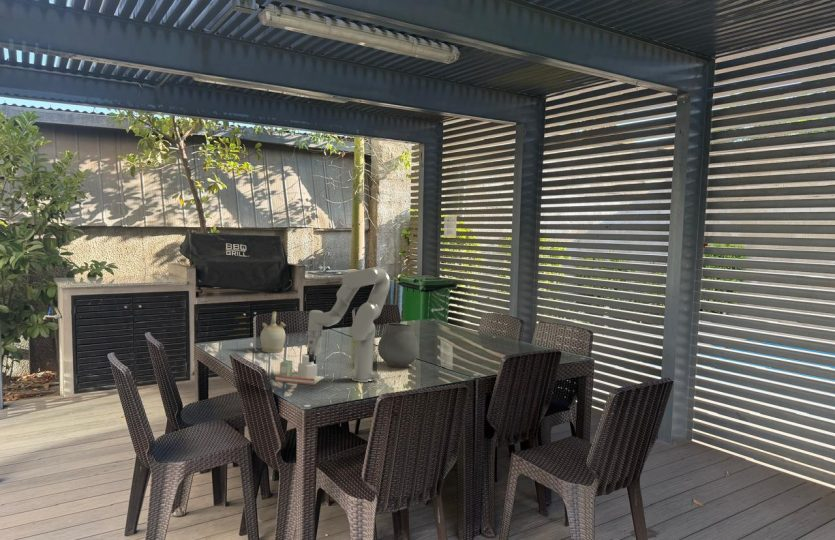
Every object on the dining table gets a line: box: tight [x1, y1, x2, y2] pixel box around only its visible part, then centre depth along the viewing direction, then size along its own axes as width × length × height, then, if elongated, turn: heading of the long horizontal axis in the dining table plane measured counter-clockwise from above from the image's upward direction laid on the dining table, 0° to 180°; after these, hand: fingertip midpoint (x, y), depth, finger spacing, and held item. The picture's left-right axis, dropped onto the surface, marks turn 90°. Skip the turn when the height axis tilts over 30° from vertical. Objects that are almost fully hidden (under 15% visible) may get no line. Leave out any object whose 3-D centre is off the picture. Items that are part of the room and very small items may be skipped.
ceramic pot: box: [377, 322, 420, 368], centre depth 337 cm, size 24×24×25 cm
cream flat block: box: [275, 373, 325, 386], centre depth 296 cm, size 20×17×3 cm
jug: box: [259, 311, 287, 354], centre depth 359 cm, size 15×16×25 cm
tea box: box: [279, 359, 293, 377], centre depth 294 cm, size 4×6×9 cm, turn 170°
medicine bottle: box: [297, 353, 318, 379], centre depth 299 cm, size 7×7×12 cm
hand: (312, 366), depth 309 cm, fingers closed
